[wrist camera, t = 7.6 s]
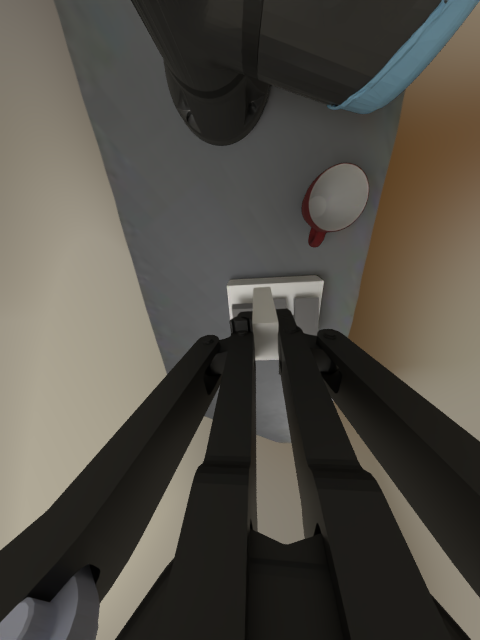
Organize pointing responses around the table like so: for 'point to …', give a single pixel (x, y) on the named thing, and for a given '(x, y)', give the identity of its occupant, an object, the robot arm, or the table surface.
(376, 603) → the robot arm
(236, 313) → the rocker
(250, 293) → the switch unit
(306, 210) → the mug
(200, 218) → the table surface
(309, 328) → the rocker
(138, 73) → the table surface
